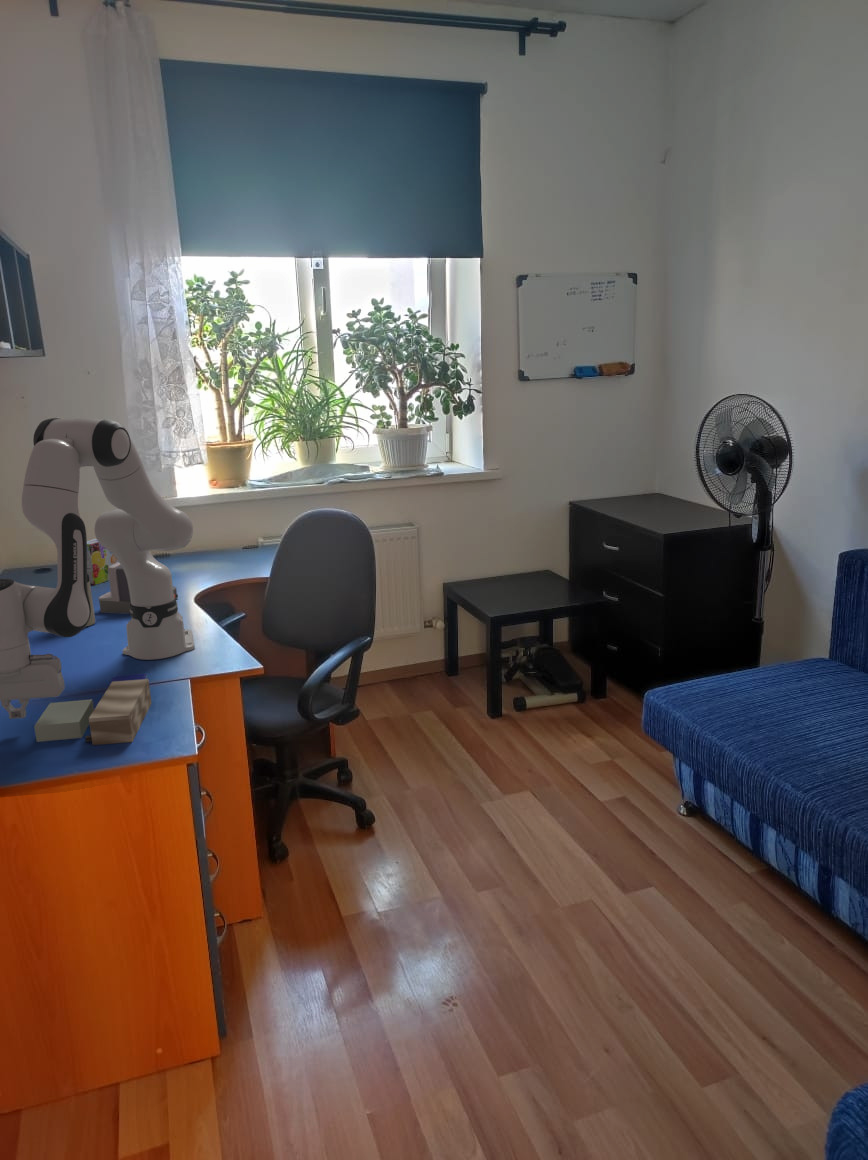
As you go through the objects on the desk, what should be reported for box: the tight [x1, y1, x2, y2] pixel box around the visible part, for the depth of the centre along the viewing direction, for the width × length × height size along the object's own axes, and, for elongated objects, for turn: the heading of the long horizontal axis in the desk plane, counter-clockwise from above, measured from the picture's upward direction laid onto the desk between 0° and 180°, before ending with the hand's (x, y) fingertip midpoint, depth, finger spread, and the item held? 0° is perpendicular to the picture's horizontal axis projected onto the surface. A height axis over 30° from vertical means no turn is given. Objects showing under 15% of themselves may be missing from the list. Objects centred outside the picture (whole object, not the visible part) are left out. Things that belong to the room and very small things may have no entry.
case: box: [34, 698, 95, 743], centre depth 183 cm, size 12×9×4 cm
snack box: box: [87, 538, 118, 586], centre depth 305 cm, size 21×6×15 cm, turn 154°
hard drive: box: [108, 672, 148, 687], centre depth 205 cm, size 2×8×12 cm
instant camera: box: [98, 562, 179, 615], centre depth 270 cm, size 21×21×15 cm
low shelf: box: [85, 678, 152, 746], centre depth 184 cm, size 20×10×6 cm, turn 7°
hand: (18, 717), depth 182 cm, fingers closed
